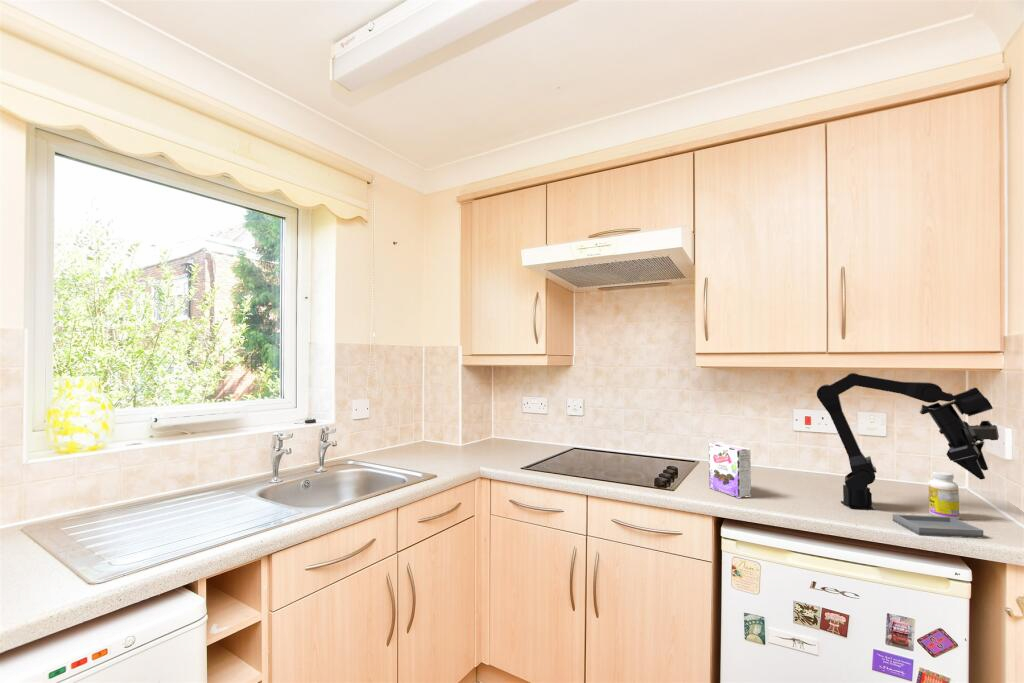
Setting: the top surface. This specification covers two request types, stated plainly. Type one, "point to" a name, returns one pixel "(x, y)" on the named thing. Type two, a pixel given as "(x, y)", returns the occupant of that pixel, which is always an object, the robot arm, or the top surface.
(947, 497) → the supplement bottle
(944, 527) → the tray
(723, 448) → the candy box
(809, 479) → the top surface
